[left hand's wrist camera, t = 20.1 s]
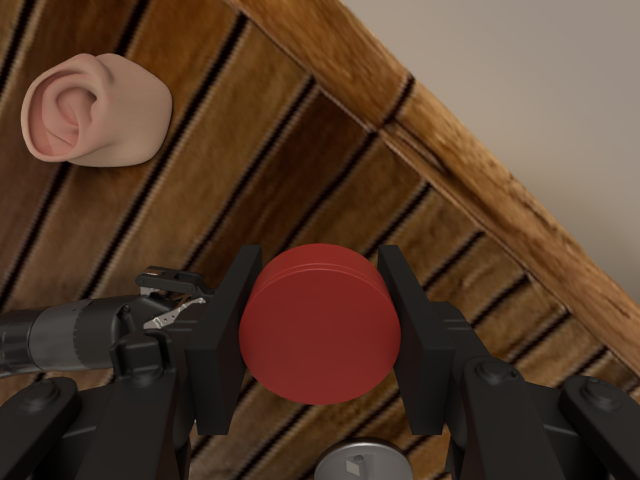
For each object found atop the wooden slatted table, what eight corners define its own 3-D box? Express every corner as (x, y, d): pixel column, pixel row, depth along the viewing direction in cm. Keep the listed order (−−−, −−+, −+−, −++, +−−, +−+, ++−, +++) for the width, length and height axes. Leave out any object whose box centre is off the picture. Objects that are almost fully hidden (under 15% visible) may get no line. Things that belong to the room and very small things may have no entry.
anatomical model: (154, 57, 31) (157, 184, 35) (172, 63, 34) (173, 177, 38) (-1, 33, 30) (20, 166, 34) (35, 42, 34) (50, 160, 38)
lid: (406, 338, 13) (422, 377, 11) (286, 379, 13) (280, 422, 11) (360, 220, 11) (368, 243, 9) (226, 273, 12) (207, 304, 10)
